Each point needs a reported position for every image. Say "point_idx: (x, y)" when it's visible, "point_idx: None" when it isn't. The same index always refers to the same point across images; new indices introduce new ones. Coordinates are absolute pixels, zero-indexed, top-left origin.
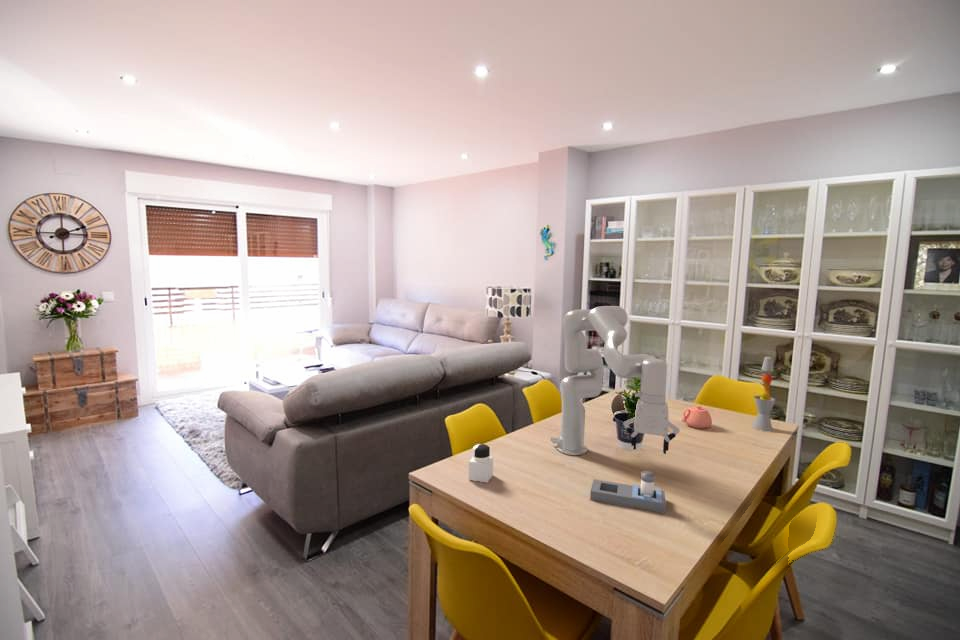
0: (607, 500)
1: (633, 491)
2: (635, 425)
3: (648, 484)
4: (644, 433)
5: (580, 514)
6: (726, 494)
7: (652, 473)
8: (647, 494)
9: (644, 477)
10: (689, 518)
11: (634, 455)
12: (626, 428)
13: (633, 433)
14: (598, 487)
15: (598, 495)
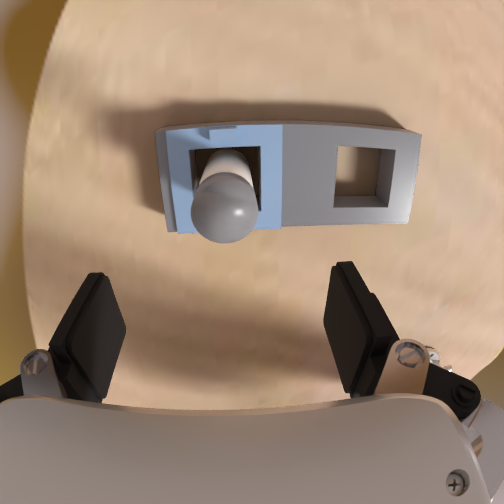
0: (359, 124)
1: (278, 172)
2: (474, 468)
3: (219, 170)
4: (300, 406)
5: (421, 36)
6: (51, 306)
7: (203, 226)
8: (223, 159)
9: (240, 181)
10: (93, 132)
11: (271, 402)
12: (475, 403)
13: (416, 376)
14: (398, 167)
15: (392, 129)
